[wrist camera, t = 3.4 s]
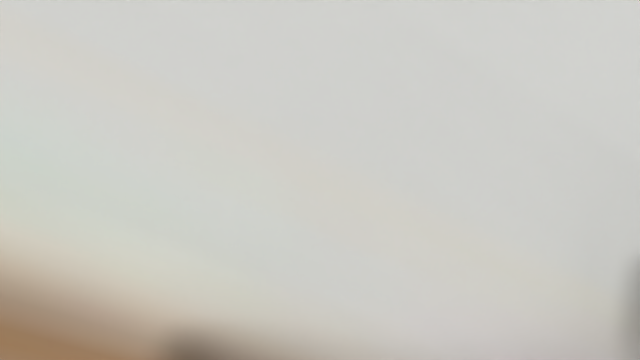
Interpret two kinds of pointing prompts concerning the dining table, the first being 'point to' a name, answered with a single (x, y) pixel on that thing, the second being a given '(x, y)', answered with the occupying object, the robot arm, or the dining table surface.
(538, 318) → the dining table surface
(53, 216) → the dining table surface
